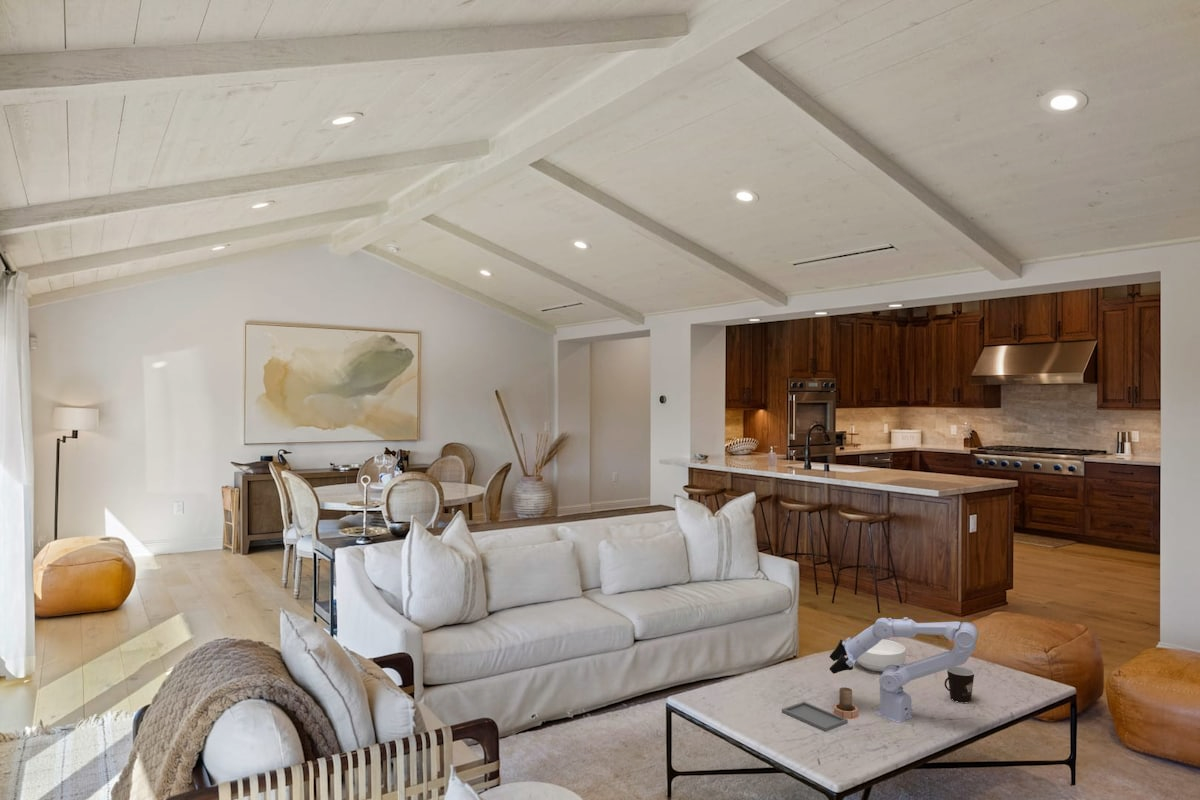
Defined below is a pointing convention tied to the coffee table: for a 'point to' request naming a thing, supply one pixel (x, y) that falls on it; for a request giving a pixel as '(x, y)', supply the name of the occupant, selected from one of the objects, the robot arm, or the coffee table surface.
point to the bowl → (883, 655)
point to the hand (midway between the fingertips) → (831, 664)
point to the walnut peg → (845, 699)
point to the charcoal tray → (814, 716)
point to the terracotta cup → (846, 712)
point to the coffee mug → (960, 683)
